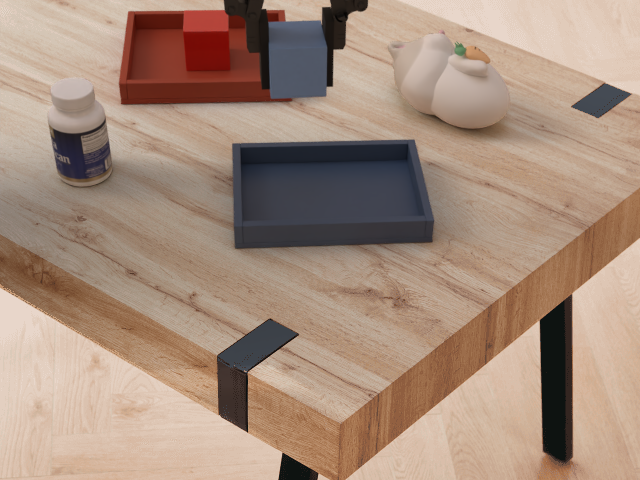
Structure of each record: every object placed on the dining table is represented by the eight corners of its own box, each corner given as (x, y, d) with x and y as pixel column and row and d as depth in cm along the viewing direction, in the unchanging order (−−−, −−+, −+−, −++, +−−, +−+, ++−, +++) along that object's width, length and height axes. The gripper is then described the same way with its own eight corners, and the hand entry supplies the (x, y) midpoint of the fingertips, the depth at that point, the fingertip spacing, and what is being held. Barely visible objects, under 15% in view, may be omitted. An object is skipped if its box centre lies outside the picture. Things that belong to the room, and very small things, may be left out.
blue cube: (266, 71, 100) (265, 21, 96) (320, 69, 100) (320, 19, 97) (271, 99, 96) (269, 48, 93) (326, 96, 97) (327, 46, 94)
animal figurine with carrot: (525, 55, 110) (402, -1, 115) (485, 118, 109) (362, 58, 113) (527, 100, 119) (413, 46, 124) (490, 158, 118) (376, 101, 122)
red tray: (121, 104, 117) (118, 83, 116) (130, 30, 130) (128, 10, 128) (291, 101, 120) (291, 80, 118) (284, 29, 132) (284, 9, 130)
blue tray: (234, 248, 100) (233, 226, 98) (233, 164, 110) (232, 143, 108) (432, 242, 102) (434, 220, 100) (413, 160, 112) (414, 139, 110)
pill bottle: (46, 172, 107) (30, 87, 101) (90, 150, 111) (77, 66, 104) (80, 195, 105) (65, 109, 98) (124, 172, 108) (112, 87, 102)
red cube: (186, 71, 122) (183, 31, 119) (187, 49, 126) (183, 10, 122) (230, 70, 123) (228, 30, 119) (230, 48, 126) (228, 9, 123)
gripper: (176, -168, 79) (197, 106, 94) (418, -169, 81) (400, 98, 97) (175, -201, 84) (195, 63, 100) (401, -202, 87) (386, 56, 102)
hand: (296, 80), depth 98 cm, fingers closed on blue cube, 5 cm apart
